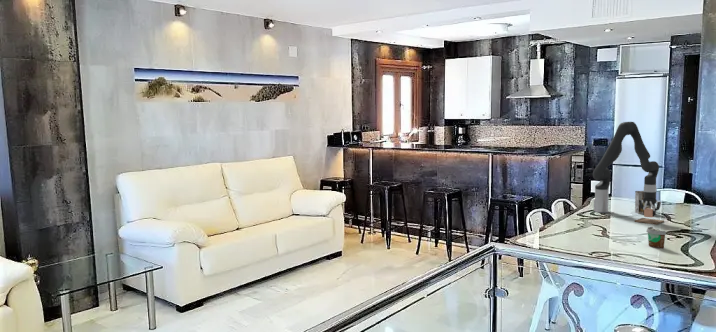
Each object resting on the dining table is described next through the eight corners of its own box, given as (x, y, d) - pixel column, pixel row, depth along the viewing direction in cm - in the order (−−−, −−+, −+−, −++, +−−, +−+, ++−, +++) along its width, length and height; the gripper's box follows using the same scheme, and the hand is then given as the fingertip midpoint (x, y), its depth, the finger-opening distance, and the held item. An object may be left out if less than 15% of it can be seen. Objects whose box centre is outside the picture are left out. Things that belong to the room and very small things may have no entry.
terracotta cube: (643, 216, 363) (644, 209, 363) (647, 215, 367) (647, 208, 366) (651, 217, 360) (651, 210, 359) (654, 216, 363) (655, 209, 362)
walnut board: (634, 221, 365) (634, 220, 365) (642, 219, 373) (642, 217, 373) (656, 224, 354) (656, 223, 354) (664, 222, 362) (664, 220, 362)
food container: (641, 244, 308) (641, 226, 307) (651, 243, 309) (652, 226, 308) (655, 249, 296) (655, 231, 295) (665, 248, 297) (666, 231, 295)
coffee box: (647, 212, 396) (647, 190, 394) (651, 213, 390) (651, 191, 388) (634, 212, 397) (635, 190, 395) (638, 213, 391) (638, 192, 389)
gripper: (636, 190, 364) (636, 215, 366) (658, 192, 353) (658, 217, 355) (641, 189, 369) (640, 213, 371) (663, 191, 358) (663, 216, 360)
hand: (649, 215), depth 363 cm, fingers closed on terracotta cube, 5 cm apart
